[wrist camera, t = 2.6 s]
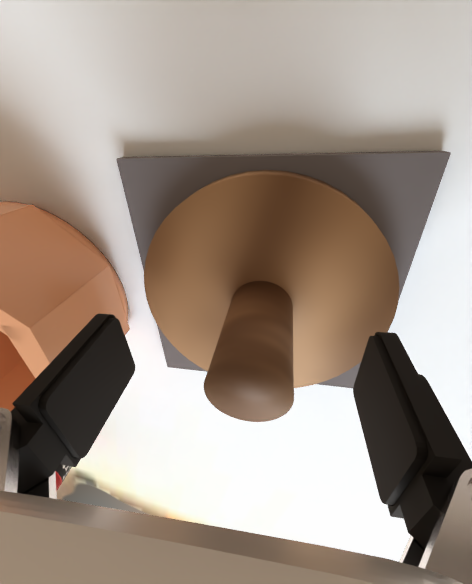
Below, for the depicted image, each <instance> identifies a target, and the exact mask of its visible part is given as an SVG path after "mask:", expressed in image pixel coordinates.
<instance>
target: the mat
mask: <svg viewBox="0 0 472 584" xmlns="http://www.w3.org/2000/svg"><path fill="white" fill-rule="evenodd" d="M449 156H450V152H445V151H417V152H366V153H316V154H265V155H215V156H164V157H123V158H118V159H117V163H118V167H119V171H120V175H121V179H122V183H123V187H124V192H125V196H126V200H127V204H128V208H129V212H130V216H131V220H132V224H133V228H134V232H135V236H136V240H137V244H138V248H139V253H140V257H141V261H142V265H143V269H144V270H145V261H146V256H147V253H148V249H149V246H150V244H151V241H152V239H153V237H154V235H155V233H156V231H157V230H158V228H159V227H160V225H161V224H162V222H163V221H164V219H165V218H166V217H167V216H168V215H169V214H170V213H171V212H172V211H173V210H174V209H175V207H177V206H178V205H179V204H181V203H182V202H183V201H184V200H186V199H187V198H188V197H189V196H191V195H192V194H194V193H195V192H196V191H198V190H199V189H201V188H203V187H205V186H206V185H208V184H210V183H212V182H214V181H216V180H219V179H222V178H224V177H227V176H230V175H234V174H238V173H243V172H247V171H259V170H277V171H288V172H293V173H298V174H303V175H307V176H310V177H312V178H315V179H318V180H321V181H323V182H325V183H327V184H329V185H331V186H333V187H335V188H337V189H338V190H340V191H342V192H343V193H344V194H346V195H347V196H348V197H350V198H351V199H352V200H354V201H355V202H356V203H357V204H358V205H359V206H360V207H361V208H362V209H363V210H364V211H365V212H366V213H367V214H368V215H369V216H370V218H371V219H372V220H373V221H374V223H375V224H376V225H377V227H378V228H379V229H380V231H381V232H382V234H383V235H384V237H385V238H386V240H387V242H388V244H389V246H390V248H391V250H392V253H393V255H394V258H395V262H396V266H397V269H398V276H399V297H400V295H401V292H402V289H403V286H404V283H405V280H406V278H407V275H408V272H409V269H410V266H411V263H412V261H413V258H414V255H415V252H416V249H417V247H418V244H419V241H420V238H421V235H422V232H423V230H424V227H425V224H426V221H427V218H428V215H429V213H430V210H431V207H432V204H433V201H434V199H435V196H436V193H437V190H438V187H439V184H440V182H441V179H442V176H443V173H444V170H445V167H446V165H447V162H448V159H449ZM398 300H399V298H398ZM157 326H158V325H157ZM158 330H159V334H160V338H161V342H162V346H163V350H164V354H165V358H166V362H167V366H168V367H173V368H181V369H190V370H199V371H206V370H204V369H202V368H201V367H199V366H197V365H196V364H194V363H193V362H192V361H190V360H189V359H188V358H186V357H185V356H184V355H183V354H181V353H180V352H179V351H178V350H177V349H176V348H175V347H174V346H173V345H172V344H171V343H170V341H169V340H168V339H167V338H166V336H165V335H164V334H163V333H162V331H161V329H160V328H159V326H158ZM360 364H361V362H360V363H359V364H357V365H356V366H354V367H353V368H351V369H350V370H348V371H346V372H344V373H342V374H341V375H339V376H337V377H334V378H332V379H329V380H327V381H324V382H320V383H317V384H321V385H330V386H338V387H347V388H353V387H354V383H355V380H356V377H357V374H358V370H359V367H360ZM207 372H208V371H207Z"/></svg>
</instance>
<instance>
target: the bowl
mask: <svg viewBox="0 0 472 584" xmlns="http://www.w3.org/2000/svg"><path fill="white" fill-rule="evenodd" d="M99 313H100V314H113V315H114V316H115V317H116V318H117V319H119V321H120V324H121V327H122V329H123V332H124V335H125V334H126V333H127V332H128V331H129V329H130V328H129V325H128V322H127V321H128V303H127V299H126V294H125V292H124V289H123V286H122V284H121V282H120V280H119V278H118V276H117V274H116V272H115V271H114V269H113V267H112V266H111V264H110V263H109V262H108V260H107V259H106V258H105V257H104V255H103V254H102V253H101V252H100V251H99V250H98V248H97V247H96V246H95V245H94V244H93V243H92V242H91V241H90V240H89V239H87V238H86V237H85V236H84V235H83V234H82V233H81V232H79V231H78V230H76V229H75V228H74V227H72V226H71V225H70V224H68V223H67V222H65V221H63V220H62V219H60V218H58V217H57V216H55V215H53V214H51V213H48V212H46V211H44V210H42V209H39V208H36V207H35V206H34V205H33V204H32V205H27V204H22V203H18V202H7V201H3V202H0V408H5V409H8V410H9V411H10V412H11V411H12V410H13V409H14V405H13V404H12V403H13V402H14V401H15V400H16V399H17V398H18V397H19V396H20V395H21V394H22V392H23V391H24V390H25V389H26V388H27V387H28V386H29V385H30V384H31V383H32V382H33V381H34V380H35V379H36V378H37V377H38V376H39V374H40V373H41V372H42V371H43V370H44V369H45V368H46V367H47V366H48V365H49V364H50V363H51V362H52V361H53V360H54V359H55V357H56V356H57V355H58V354H59V353H60V352H61V351H62V350H63V349H64V348H65V347H66V346H67V345H68V344H69V343H70V342H71V340H72V339H73V338H74V337H75V336H76V335H77V334H78V333H79V332H80V331H81V330H82V329H83V328H84V327H85V326H86V325H87V324H88V322H89V321H90V320H91V319H92V318H93V317H94V316H95V315H96V314H99Z"/></svg>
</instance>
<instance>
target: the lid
mask: <svg viewBox="0 0 472 584" xmlns="http://www.w3.org/2000/svg"><path fill="white" fill-rule="evenodd" d="M144 284H145V291H146V297H147V301H148V304H149V307H150V310H151V313H152V315H153V317H154V319H155V321H156V323H157V325H158V326H159V328H160V329H161V331H162V333H163V334H164V335H165V336H166V338H167V339H168V340H169V341H170V343H171V344H172V345H173V346H174V347H175V348H176V349H177V350H178V351H179V352H180V353H181V354H183V355H184V356H185V357H186V358H188V359H189V360H190V361H192V362H193V363H194V364H196V365H197V366H199V367H201V368H202V369H204V370H206V371H208V372H207V375H206V378H205V381H204V391H205V394H206V396H207V398H208V400H209V401H210V402H211V403H212V404H213V405H214V406H215V407H216V408H217V409H218V410H220V411H221V412H223V413H225V414H227V415H229V416H231V417H234V418H237V419H240V420H245V421H252V422H263V421H270V420H274V419H277V418H279V417H281V416H283V415H284V414H286V413H287V412H288V411H289V410H290V408H291V407H292V405H293V401H294V388H297V387H303V386H309V385H313V384H317V383H320V382H324V381H327V380H329V379H332V378H334V377H337V376H339V375H341V374H342V373H344V372H346V371H348V370H350V369H351V368H353V367H354V366H356V365H357V364H359V363H360V362H361V361H362V358H363V355H364V351H365V348H366V345H367V342H368V339H369V337H370V336H374V335H375V333H376V332H388V330H389V328H390V325H391V323H392V321H393V319H394V316H395V312H396V309H397V305H398V298H399V276H398V269H397V266H396V262H395V258H394V255H393V253H392V250H391V248H390V246H389V244H388V242H387V240H386V238H385V237H384V235H383V234H382V232H381V231H380V229H379V228H378V227H377V225H376V224H375V223H374V221H373V220H372V219H371V218H370V216H369V215H368V214H367V213H366V212H365V211H364V210H363V209H362V208H361V207H360V206H359V205H358V204H357V203H356V202H355V201H354V200H352V199H351V198H350V197H348V196H347V195H346V194H344V193H343V192H342V191H340V190H338V189H337V188H335V187H333V186H331V185H329V184H327V183H325V182H323V181H321V180H318V179H315V178H312V177H310V176H307V175H303V174H298V173H293V172H288V171H277V170H259V171H247V172H243V173H238V174H234V175H230V176H227V177H224V178H222V179H219V180H216V181H214V182H212V183H210V184H208V185H206V186H205V187H203V188H201V189H199V190H198V191H196V192H195V193H194V194H192V195H191V196H189V197H188V198H187V199H186V200H184V201H183V202H182V203H181V204H179V205H178V206H177V207H175V209H174V210H173V211H172V212H171V213H170V214H169V215H168V216H167V217H166V218H165V219H164V221H163V222H162V224H161V225H160V227H159V228H158V230H157V231H156V233H155V235H154V237H153V239H152V241H151V244H150V246H149V249H148V253H147V256H146V261H145V270H144Z"/></svg>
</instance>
